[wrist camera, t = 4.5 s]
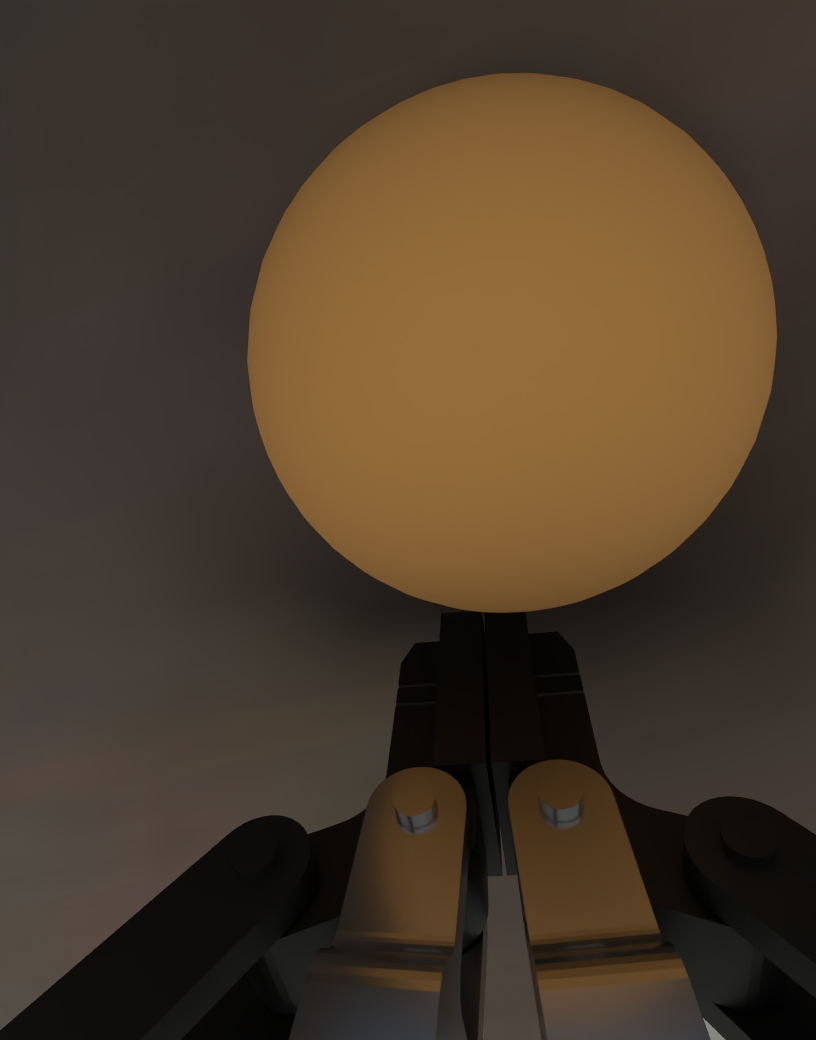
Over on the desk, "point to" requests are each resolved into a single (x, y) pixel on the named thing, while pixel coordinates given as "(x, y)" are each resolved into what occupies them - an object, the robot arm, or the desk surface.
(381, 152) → the ball
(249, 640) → the desk surface
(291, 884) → the robot arm
